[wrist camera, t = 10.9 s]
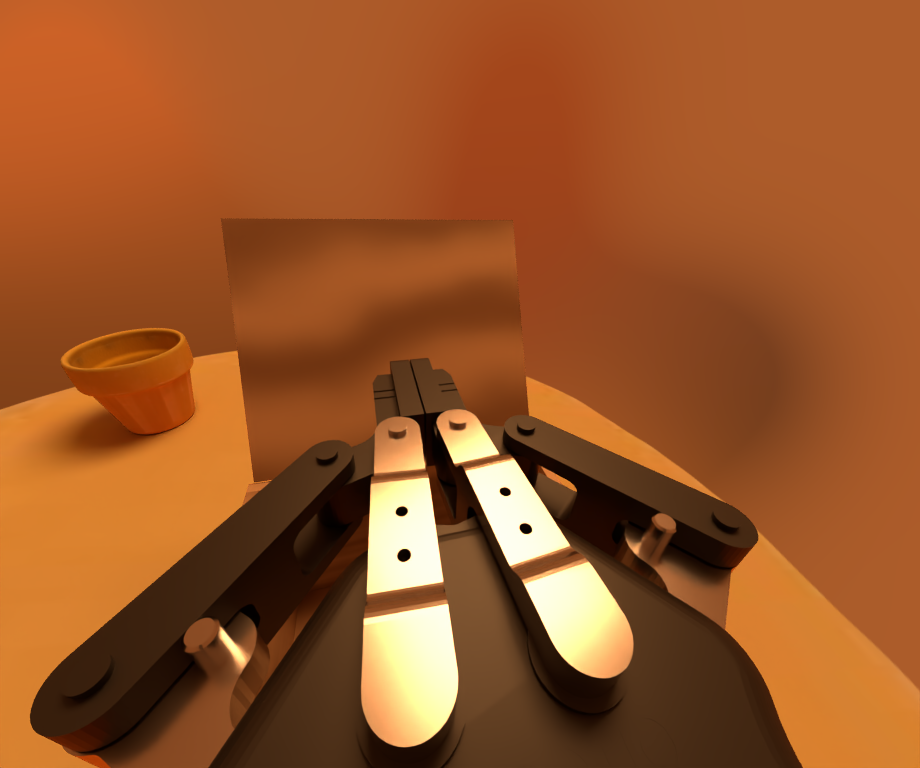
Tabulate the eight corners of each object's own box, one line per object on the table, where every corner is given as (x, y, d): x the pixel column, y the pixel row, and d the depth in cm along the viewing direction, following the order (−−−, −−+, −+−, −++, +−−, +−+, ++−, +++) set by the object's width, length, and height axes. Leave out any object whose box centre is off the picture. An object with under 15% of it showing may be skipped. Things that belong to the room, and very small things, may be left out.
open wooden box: (628, 823, 18) (738, 766, 12) (239, 998, 14) (70, 1062, 7) (513, 543, 31) (534, 441, 24) (293, 591, 27) (249, 484, 20)
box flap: (512, 220, 24) (509, 223, 24) (221, 218, 20) (224, 222, 20) (530, 440, 24) (527, 439, 25) (254, 482, 20) (256, 479, 21)
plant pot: (181, 385, 49) (150, 319, 44) (231, 407, 45) (204, 338, 40) (88, 428, 41) (37, 354, 36) (141, 458, 38) (92, 381, 32)
